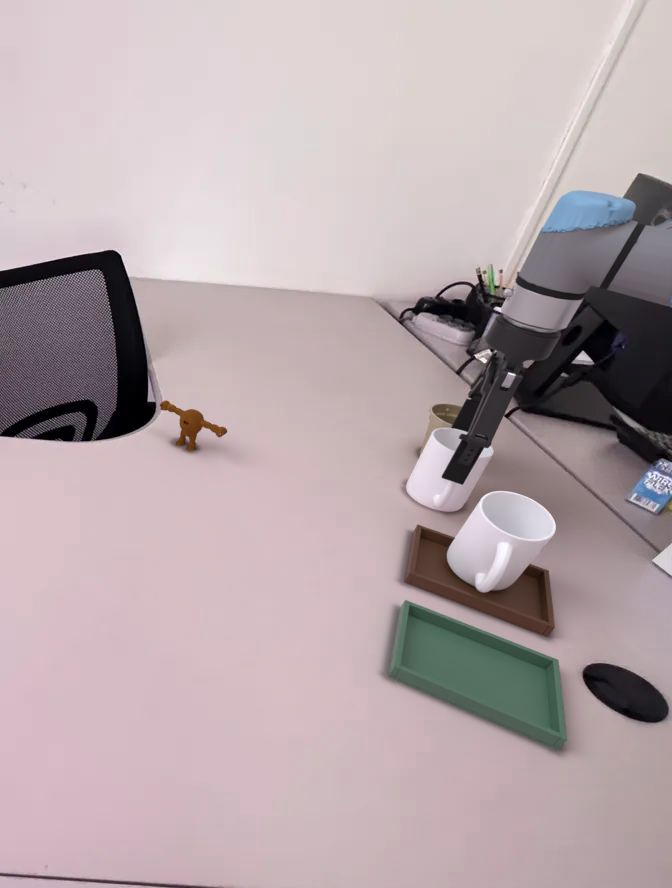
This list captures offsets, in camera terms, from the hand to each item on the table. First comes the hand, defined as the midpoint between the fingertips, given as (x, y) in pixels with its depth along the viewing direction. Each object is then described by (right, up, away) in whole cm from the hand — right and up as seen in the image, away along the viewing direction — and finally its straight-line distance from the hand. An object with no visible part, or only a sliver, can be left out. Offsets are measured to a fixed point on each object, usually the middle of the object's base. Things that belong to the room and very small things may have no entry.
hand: (454, 459), depth 99 cm
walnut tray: (-4, -17, -10) cm, 20 cm away
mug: (-4, -16, -11) cm, 19 cm away
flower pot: (+7, 0, +16) cm, 17 cm away
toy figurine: (-37, +2, +12) cm, 39 cm away
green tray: (-13, -25, -23) cm, 37 cm away
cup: (-1, -7, +5) cm, 8 cm away
